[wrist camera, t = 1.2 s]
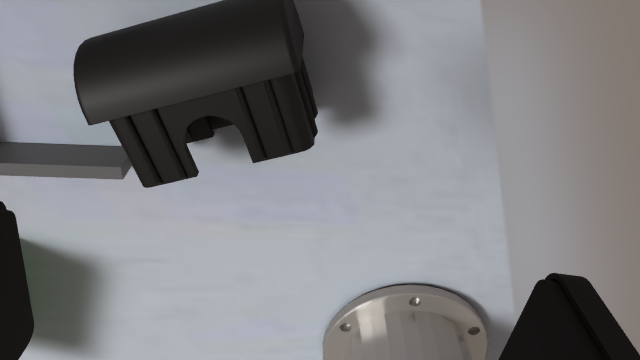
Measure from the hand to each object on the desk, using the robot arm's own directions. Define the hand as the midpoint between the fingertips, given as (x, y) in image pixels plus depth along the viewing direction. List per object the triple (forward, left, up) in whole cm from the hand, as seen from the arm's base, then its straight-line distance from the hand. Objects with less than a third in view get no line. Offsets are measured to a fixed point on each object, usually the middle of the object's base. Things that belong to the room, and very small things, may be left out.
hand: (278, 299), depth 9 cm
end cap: (-2, +5, -21) cm, 21 cm away
